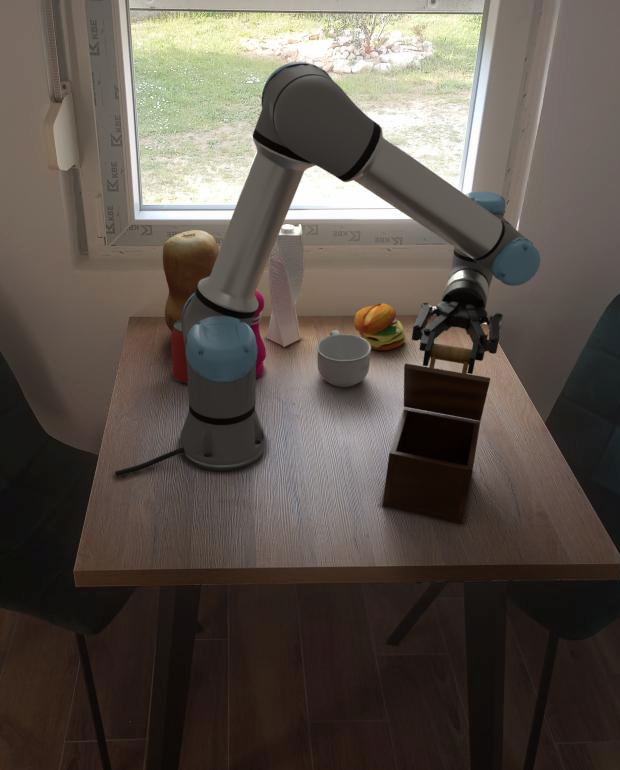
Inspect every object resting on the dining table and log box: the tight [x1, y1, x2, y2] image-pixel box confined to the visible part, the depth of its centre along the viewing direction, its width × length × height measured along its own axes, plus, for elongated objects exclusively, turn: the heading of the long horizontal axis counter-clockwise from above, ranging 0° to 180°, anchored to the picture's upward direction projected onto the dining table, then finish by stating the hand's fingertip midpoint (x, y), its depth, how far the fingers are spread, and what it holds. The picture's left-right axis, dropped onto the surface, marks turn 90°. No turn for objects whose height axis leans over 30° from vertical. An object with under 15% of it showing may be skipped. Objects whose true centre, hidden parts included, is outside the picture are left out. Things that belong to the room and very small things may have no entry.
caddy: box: [382, 406, 481, 525], centre depth 131 cm, size 14×13×11 cm
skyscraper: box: [266, 223, 305, 348], centre depth 170 cm, size 8×8×28 cm
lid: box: [403, 342, 491, 422], centre depth 128 cm, size 15×13×6 cm
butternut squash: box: [162, 229, 220, 333], centre depth 170 cm, size 14×13×25 cm
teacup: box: [316, 329, 372, 388], centre depth 162 cm, size 14×11×8 cm
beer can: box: [170, 320, 188, 384], centre depth 160 cm, size 7×7×12 cm
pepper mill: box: [250, 290, 267, 379], centre depth 160 cm, size 7×7×20 cm
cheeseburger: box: [354, 302, 407, 351], centre depth 175 cm, size 10×11×10 cm
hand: (448, 361), depth 120 cm, fingers closed on lid, 6 cm apart
